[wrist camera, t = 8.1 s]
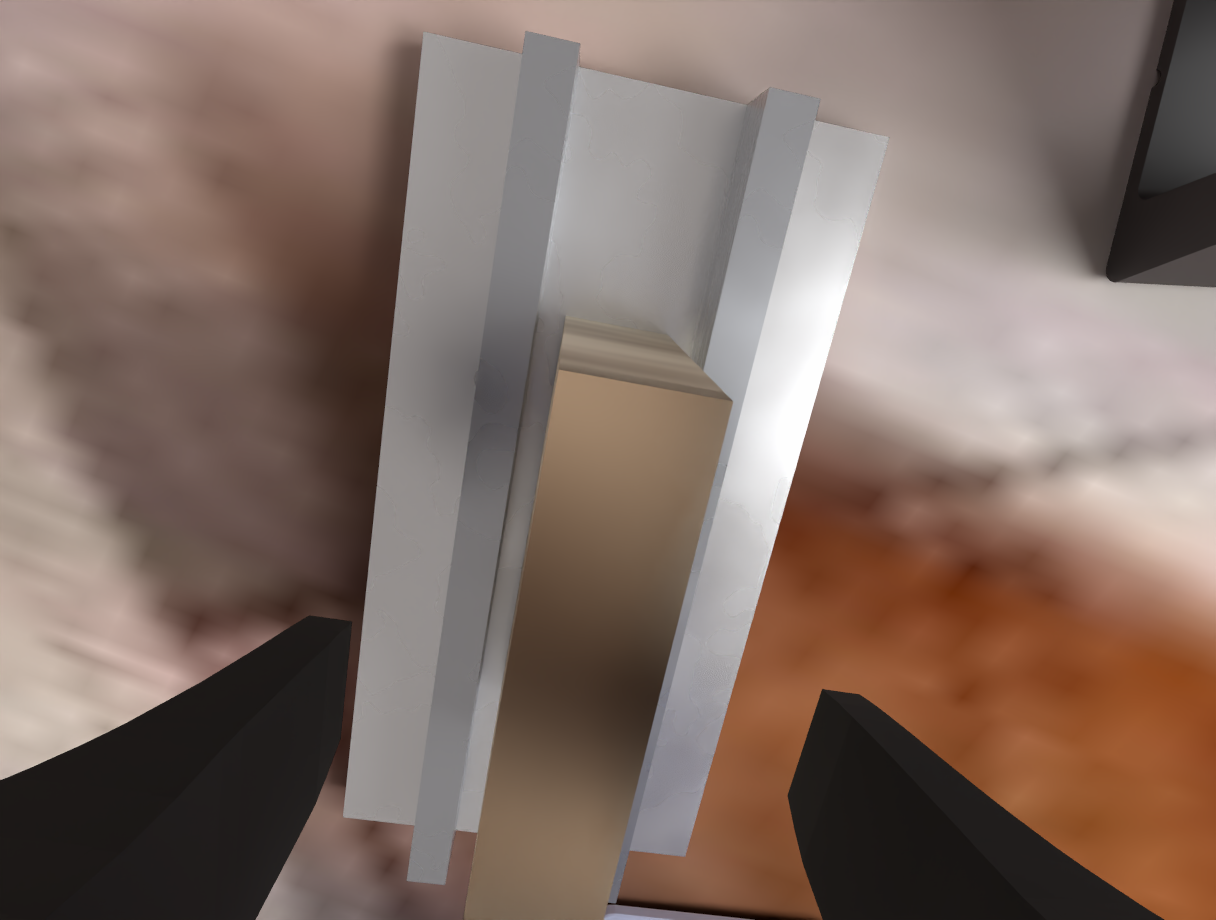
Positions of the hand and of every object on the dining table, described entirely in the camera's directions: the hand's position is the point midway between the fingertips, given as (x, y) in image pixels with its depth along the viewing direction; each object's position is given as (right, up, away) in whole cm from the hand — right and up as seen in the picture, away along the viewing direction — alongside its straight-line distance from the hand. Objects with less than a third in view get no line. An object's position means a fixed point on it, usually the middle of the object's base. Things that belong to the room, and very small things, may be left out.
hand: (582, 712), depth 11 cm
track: (0, +3, +8) cm, 8 cm away
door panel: (0, +2, +7) cm, 7 cm away
